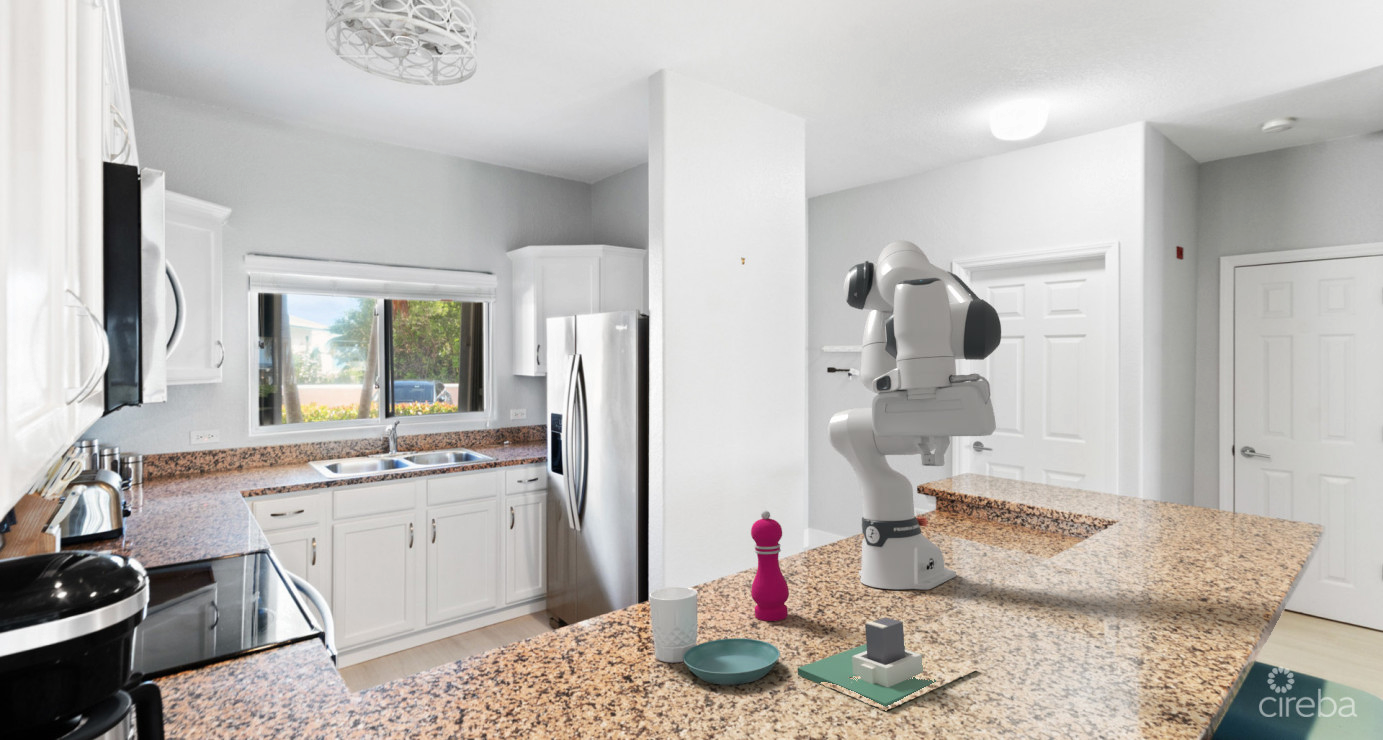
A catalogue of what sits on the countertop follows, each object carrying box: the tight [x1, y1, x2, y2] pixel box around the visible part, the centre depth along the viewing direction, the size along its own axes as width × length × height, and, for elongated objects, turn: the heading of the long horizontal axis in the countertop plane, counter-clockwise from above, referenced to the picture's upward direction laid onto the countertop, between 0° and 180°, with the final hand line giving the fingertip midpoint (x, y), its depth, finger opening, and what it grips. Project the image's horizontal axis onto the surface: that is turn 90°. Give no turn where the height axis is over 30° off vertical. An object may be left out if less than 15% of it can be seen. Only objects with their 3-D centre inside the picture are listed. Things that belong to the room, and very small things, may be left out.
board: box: [796, 643, 936, 707], centre depth 95 cm, size 20×16×4 cm
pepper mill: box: [750, 510, 790, 622], centre depth 126 cm, size 7×7×20 cm
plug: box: [864, 616, 905, 665], centre depth 93 cm, size 4×3×7 cm, turn 125°
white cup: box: [649, 586, 699, 664], centre depth 107 cm, size 8×8×10 cm
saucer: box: [683, 637, 781, 686], centre depth 99 cm, size 15×15×3 cm
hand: (933, 465), depth 103 cm, fingers closed
